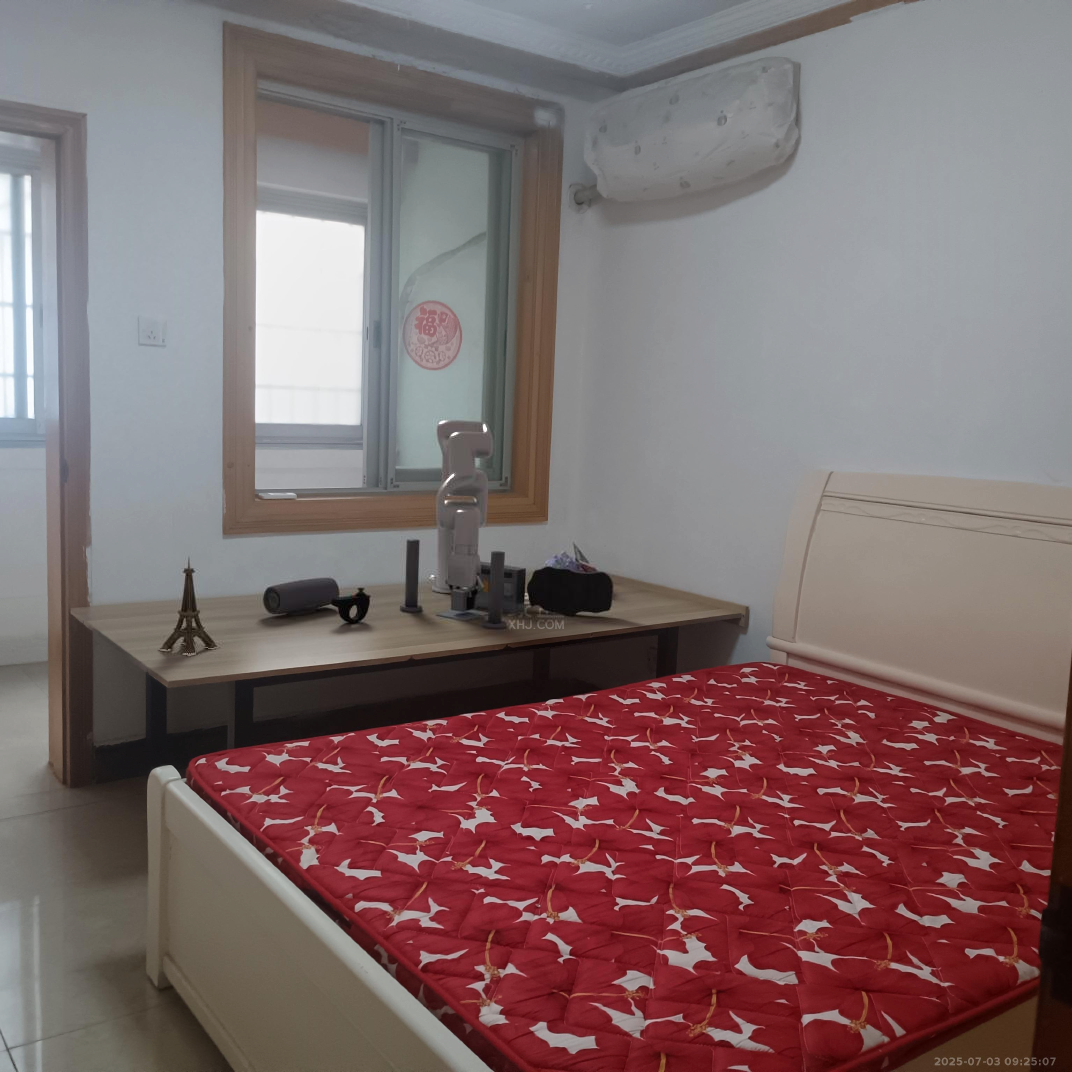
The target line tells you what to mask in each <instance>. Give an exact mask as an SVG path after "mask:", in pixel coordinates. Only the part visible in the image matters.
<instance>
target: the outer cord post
mask: <svg viewBox="0 0 1072 1072" xmlns="http://www.w3.org/2000/svg"><path fill="white" fill-rule="evenodd" d="M505 558H506V552H504V551H501V550H500V551H499V550H494V551H491V553H490V563H491V569H490V590H489V609H487V610H488V612H487V613H488V615H487V619H485V620H483V621H482V627H483V628H486V629H489V630H502V629H506V628H507V622H506V621H504V620H502V618H503V616H502V615H503V612H502V601H503V581H504V565H505V561H506V560H505Z"/></svg>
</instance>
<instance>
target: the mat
mask: <svg viewBox="0 0 1072 1072" xmlns="http://www.w3.org/2000/svg"><path fill="white" fill-rule="evenodd" d="M436 616H438V617H442V618H449V619H453V620H458V621H461V622H462V621H463V622H466V621H467V622H468V621H470V620H474V619H477V618H478V619H479V618H481V617H485V616H488V612H486V611H482V610H477V609H473V610H469V611H465V612H459V611H454V610H451V609H450V610H447V611H443V612H439V613H436Z"/></svg>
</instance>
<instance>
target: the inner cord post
mask: <svg viewBox="0 0 1072 1072" xmlns="http://www.w3.org/2000/svg"><path fill="white" fill-rule="evenodd" d="M420 546H421V545H420V539H416V538H407V539H406V552H405V553H406V554H405V583H404V584H405V587H404V604H400V605H399V611H401V612H404V613H419V612H422V611H423V605H421V604H418V603H419V601H418V600H419V571H420Z"/></svg>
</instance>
